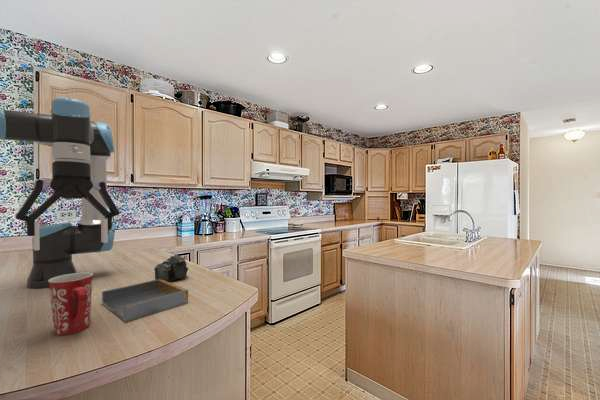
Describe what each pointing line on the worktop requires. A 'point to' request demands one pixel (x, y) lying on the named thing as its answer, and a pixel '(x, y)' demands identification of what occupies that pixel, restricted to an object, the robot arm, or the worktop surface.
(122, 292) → the tray
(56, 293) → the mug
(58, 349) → the worktop surface
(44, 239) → the robot arm
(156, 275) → the camera
